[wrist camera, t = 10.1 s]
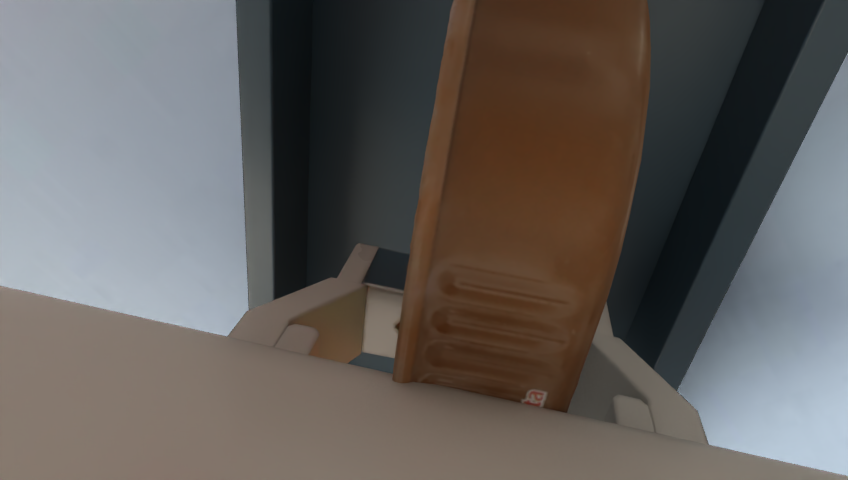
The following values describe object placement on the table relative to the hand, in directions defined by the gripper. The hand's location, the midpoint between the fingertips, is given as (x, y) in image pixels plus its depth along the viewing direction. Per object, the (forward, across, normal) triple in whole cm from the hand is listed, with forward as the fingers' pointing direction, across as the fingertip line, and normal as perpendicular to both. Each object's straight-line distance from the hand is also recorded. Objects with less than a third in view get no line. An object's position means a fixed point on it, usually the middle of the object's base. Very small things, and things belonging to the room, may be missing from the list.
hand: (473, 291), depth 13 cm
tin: (+4, 0, 0) cm, 4 cm away
